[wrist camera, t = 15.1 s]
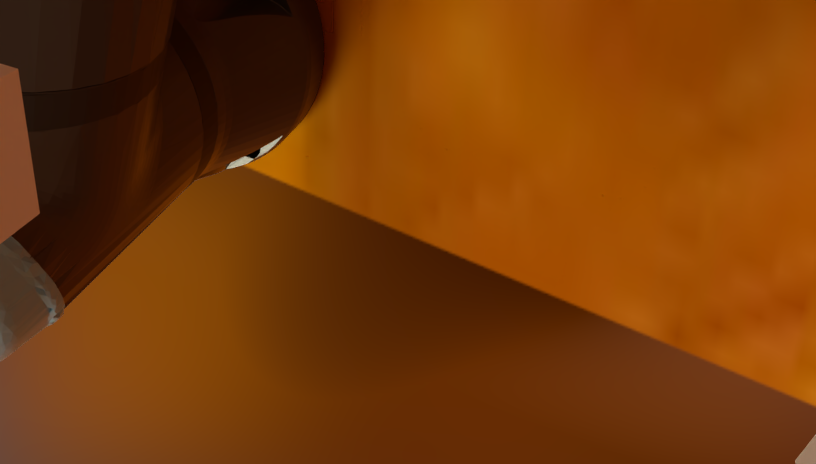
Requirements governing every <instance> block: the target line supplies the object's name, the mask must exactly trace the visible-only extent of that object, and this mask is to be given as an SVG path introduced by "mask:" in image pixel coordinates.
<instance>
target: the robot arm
mask: <svg viewBox="0 0 816 464" xmlns="http://www.w3.org/2000/svg"><path fill="white" fill-rule="evenodd" d="M323 63H324V40H323V31H322V24H321V20H320V15H319V11H318V8H317V4H316V1H315V0H0V361H2V360H3V359H5V358H6V357H8V356H9V355H10V354H11V353H13V352H14V351H15V350H17V349H18V348H19V347H20V346H21V345H23V344H24V343H25V342H27V341H28V340H29V339H30V338H32V337H33V336H35V335H36V334H37V333H38V332H40V331H41V330H42V329H44V328H45V327H47V326H49V325H51V324H53V323H54V322H56V321H57V320H58V319H59V318H60V317H61V316H62V315H63V314H64V313H63V312H64V308H66V307H67V306H68V305H69V304H70V303H71V302H72V301H73V300H74V299H75V298H76V297H77V296H78V295H79V294H80V293H81V292H82V291H83V290H84V289H85V288H86V287H87V286H88V285H89V284H90V283H91V282H92V281H93V280H94V279H95V278H96V277H97V276H98V275H99V274H100V273H101V272H102V271H103V270H104V269H105V268H106V267H107V266H108V265H109V264H110V263H111V262H112V261H113V260H114V259H115V258H116V257H117V256H118V255H119V254H120V253H121V252H122V251H123V250H124V249H125V248H126V247H127V246H128V245H130V243H132V241H134V240H135V239H136V238H137V237H138V236H139V235H140V234H141V233H142V232H143V231H144V229H146V228H147V227H148V226H149V225H150V224H151V223H152V222H153V221H154V220H155V219H156V218H157V217H158V216H159V215H160V214H161V213H162V212H163V211H164V210H165V209H166V208H167V207H168V206H169V205H170V204H171V203H172V202H173V201H174V200H175V199H176V198H177V197H178V196H179V195H180V194H181V193H182V192H183V191H184V190H185V189H187V187H188V186H190V185H191V184H192V183H193V182H194V181H195V180H198V179H201V178H204V177H207V176H211V175H214V174H217V173H219V172H222V171H223V170H225V169H230V168H235V167H238V166H242V165H245V164H247V163H250V162H253V161H255V160H257V159H259V158H261V157H262V156H264V155H266V154H267V153H269V152H270V151H272V150H273V149H274V148H276V147H277V146H278V145H279V144H280V143H281V142H282V141H283V140H284V139H285V138H286V137H287V136H288V135H289V134H290V133H291V132H292V131H293V130H294V129H295V128H296V126H297V125H298V124H299V123H300V122H301V121H302V119H303V118H304V117H305V115H306V114H307V112H308V111H309V109H310V107H311V105H312V104H313V102H314V99H315V97H316V95H317V92H318V89H319V86H320V81H321V77H322V71H323ZM795 463H796V464H816V435H815V436H814V437H813V439H812V440H811V441H810V442H809V444H808V445H807V446H806V448H805V449H804V450H803V451H802V453H801V454H800V455H799V456H798V458H797V459H796V460H795Z"/></svg>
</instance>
